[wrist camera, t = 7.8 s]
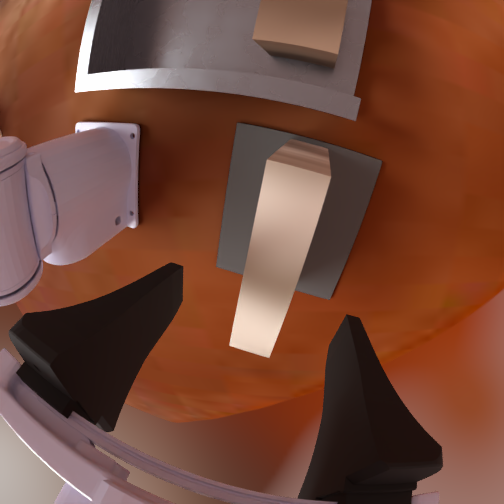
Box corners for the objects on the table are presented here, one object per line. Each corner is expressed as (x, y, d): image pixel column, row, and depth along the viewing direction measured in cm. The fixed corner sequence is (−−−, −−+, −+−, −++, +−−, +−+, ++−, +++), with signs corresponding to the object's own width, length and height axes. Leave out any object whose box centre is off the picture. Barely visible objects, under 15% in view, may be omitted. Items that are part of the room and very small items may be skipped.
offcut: (334, 68, 13) (337, 54, 9) (270, 55, 13) (252, 39, 10) (346, 4, 10) (351, -25, 7) (283, -7, 11) (269, -37, 7)
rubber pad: (329, 297, 22) (329, 299, 22) (217, 264, 24) (216, 266, 23) (381, 160, 16) (382, 161, 16) (238, 122, 17) (237, 122, 17)
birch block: (288, 281, 22) (269, 357, 15) (259, 273, 22) (229, 345, 16) (327, 148, 16) (331, 176, 10) (290, 138, 17) (266, 159, 10)
